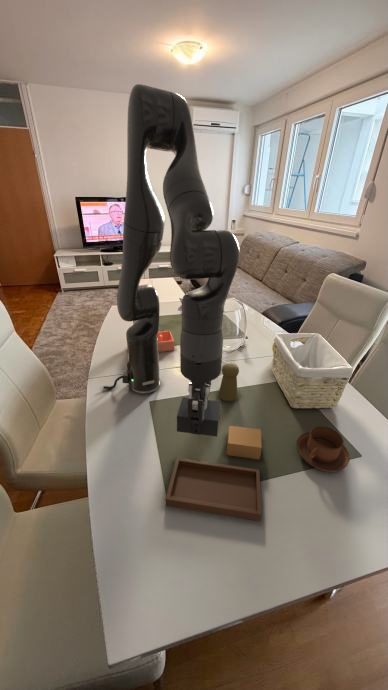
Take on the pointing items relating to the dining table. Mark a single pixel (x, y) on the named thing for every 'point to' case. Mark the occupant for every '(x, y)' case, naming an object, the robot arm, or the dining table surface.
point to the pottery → (165, 341)
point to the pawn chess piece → (229, 382)
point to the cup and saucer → (323, 449)
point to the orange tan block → (244, 442)
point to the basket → (309, 370)
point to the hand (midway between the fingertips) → (199, 421)
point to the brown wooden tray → (215, 489)
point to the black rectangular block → (208, 422)
